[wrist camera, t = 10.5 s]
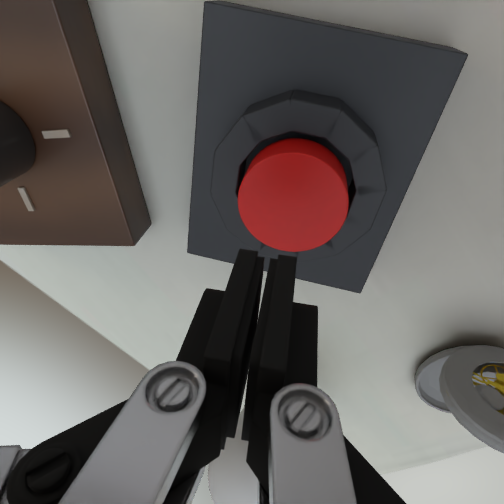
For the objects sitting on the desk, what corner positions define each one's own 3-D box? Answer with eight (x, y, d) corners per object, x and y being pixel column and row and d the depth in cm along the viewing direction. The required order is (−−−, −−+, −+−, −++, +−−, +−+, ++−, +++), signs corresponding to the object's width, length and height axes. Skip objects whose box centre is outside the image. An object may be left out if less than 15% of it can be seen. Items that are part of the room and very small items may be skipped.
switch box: (218, 0, 16) (189, 1, 12) (453, 47, 15) (486, 61, 12) (197, 232, 23) (176, 272, 19) (358, 270, 22) (362, 316, 19)
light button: (253, 127, 15) (245, 141, 13) (361, 150, 15) (365, 167, 13) (238, 219, 17) (231, 239, 16) (330, 240, 17) (330, 262, 16)
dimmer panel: (-125, -8, 18) (-187, -8, 16) (75, -40, 16) (35, -46, 14) (2, 224, 25) (-29, 246, 23) (152, 224, 23) (133, 248, 21)
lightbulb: (276, 397, 31) (254, 560, 22) (220, 358, 29) (173, 517, 20) (332, 370, 28) (333, 547, 19) (273, 324, 26) (245, 495, 17)
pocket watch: (433, 409, 28) (474, 575, 20) (387, 339, 25) (414, 504, 17) (558, 385, 25) (670, 575, 17) (523, 300, 21) (641, 484, 13)
